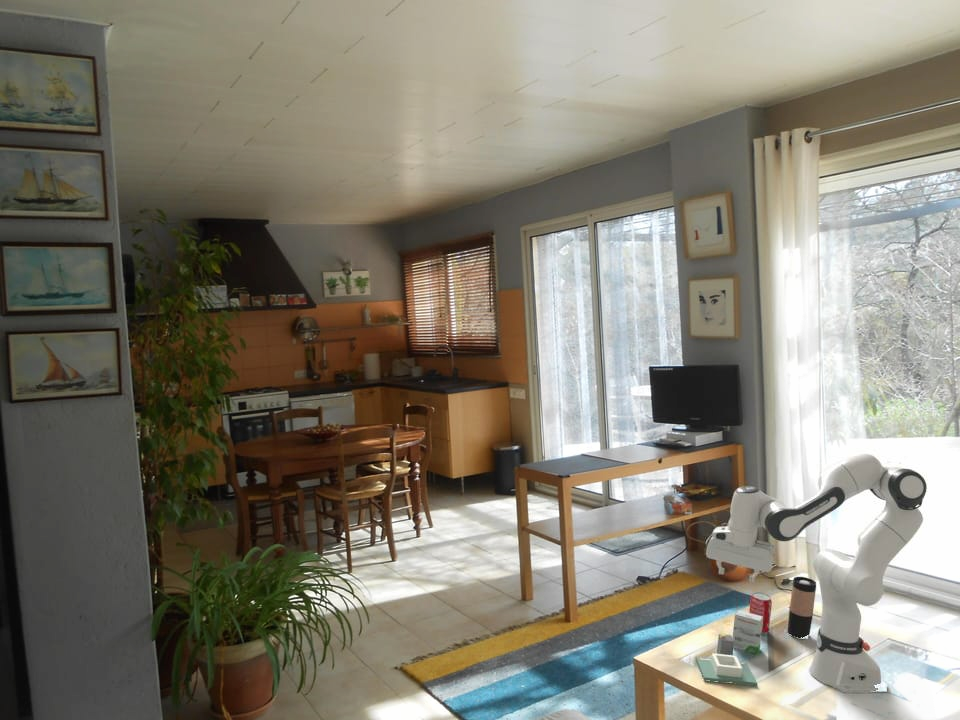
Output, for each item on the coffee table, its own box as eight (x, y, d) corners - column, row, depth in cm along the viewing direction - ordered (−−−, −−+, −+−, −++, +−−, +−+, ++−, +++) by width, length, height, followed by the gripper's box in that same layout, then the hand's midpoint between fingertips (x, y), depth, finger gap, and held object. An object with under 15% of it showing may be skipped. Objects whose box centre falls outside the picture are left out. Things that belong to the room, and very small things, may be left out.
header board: (746, 665, 240) (747, 653, 239) (756, 686, 228) (758, 673, 228) (695, 660, 241) (697, 648, 241) (703, 680, 229) (705, 668, 229)
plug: (728, 655, 246) (731, 632, 245) (731, 661, 242) (734, 638, 241) (716, 653, 247) (719, 631, 246) (719, 660, 243) (721, 637, 242)
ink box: (760, 649, 252) (764, 616, 250) (757, 655, 247) (761, 621, 246) (733, 641, 256) (737, 608, 254) (730, 647, 252) (734, 614, 250)
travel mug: (781, 630, 266) (788, 577, 264) (799, 628, 269) (806, 575, 266) (796, 640, 259) (803, 586, 256) (814, 638, 261) (821, 584, 259)
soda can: (770, 636, 261) (774, 601, 259) (748, 633, 262) (753, 598, 260) (766, 627, 268) (770, 593, 266) (745, 624, 269) (749, 590, 267)
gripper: (777, 541, 236) (771, 582, 238) (711, 526, 245) (706, 566, 247) (775, 547, 230) (769, 589, 232) (707, 531, 240) (702, 572, 241)
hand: (736, 577), depth 240 cm, fingers open, 8 cm apart
